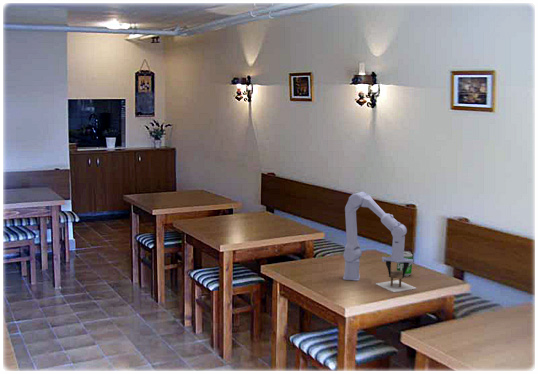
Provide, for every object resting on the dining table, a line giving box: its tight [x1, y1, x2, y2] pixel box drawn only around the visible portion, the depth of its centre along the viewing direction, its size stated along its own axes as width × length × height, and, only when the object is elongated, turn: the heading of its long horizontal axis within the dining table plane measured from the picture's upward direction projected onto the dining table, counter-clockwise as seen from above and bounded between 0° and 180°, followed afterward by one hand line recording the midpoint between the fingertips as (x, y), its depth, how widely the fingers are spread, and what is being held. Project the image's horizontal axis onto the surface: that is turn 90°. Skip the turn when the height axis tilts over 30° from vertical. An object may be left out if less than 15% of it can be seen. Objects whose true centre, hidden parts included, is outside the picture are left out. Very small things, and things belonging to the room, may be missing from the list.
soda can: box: [396, 250, 414, 277], centre depth 336 cm, size 8×8×12 cm
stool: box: [389, 269, 403, 287], centre depth 315 cm, size 6×9×6 cm, turn 168°
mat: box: [375, 279, 417, 293], centre depth 316 cm, size 14×14×1 cm
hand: (396, 277), depth 315 cm, fingers closed on stool, 6 cm apart
